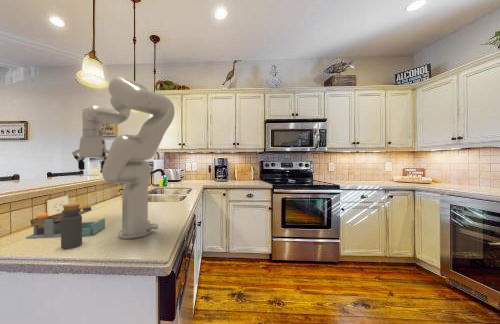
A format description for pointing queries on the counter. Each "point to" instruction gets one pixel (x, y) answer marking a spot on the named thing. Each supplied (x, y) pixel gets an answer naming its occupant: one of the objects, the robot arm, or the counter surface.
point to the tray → (92, 227)
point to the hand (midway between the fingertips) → (92, 169)
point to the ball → (42, 215)
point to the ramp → (56, 218)
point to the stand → (47, 230)
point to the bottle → (71, 226)
